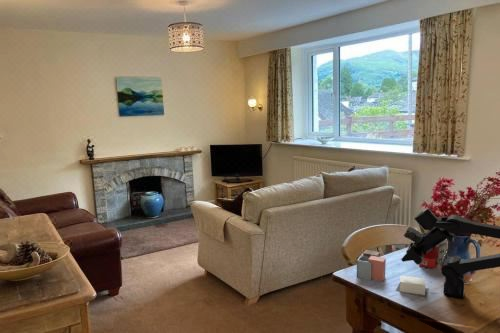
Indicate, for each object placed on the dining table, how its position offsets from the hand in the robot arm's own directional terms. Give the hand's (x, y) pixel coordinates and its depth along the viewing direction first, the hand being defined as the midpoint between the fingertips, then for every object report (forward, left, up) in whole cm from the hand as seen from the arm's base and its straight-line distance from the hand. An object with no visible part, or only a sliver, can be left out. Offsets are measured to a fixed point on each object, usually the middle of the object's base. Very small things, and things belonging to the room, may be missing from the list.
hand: (402, 260), depth 163 cm
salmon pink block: (+10, 0, -10) cm, 14 cm away
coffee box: (-8, -38, -11) cm, 40 cm away
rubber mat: (-5, +4, -10) cm, 12 cm away
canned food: (-7, -24, -11) cm, 27 cm away
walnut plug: (+14, -5, -10) cm, 18 cm away
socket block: (+14, -3, -10) cm, 18 cm away
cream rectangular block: (-5, +4, -10) cm, 12 cm away
